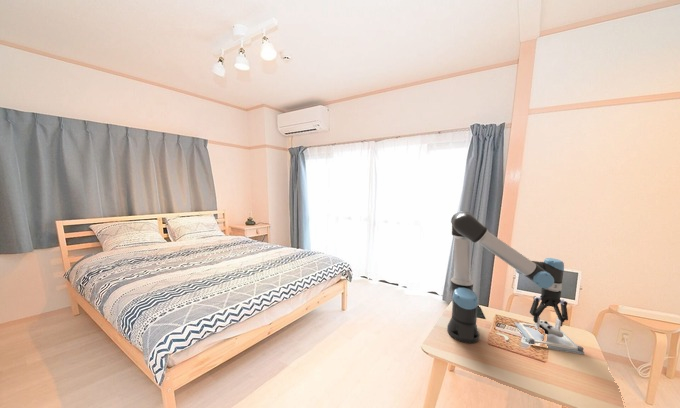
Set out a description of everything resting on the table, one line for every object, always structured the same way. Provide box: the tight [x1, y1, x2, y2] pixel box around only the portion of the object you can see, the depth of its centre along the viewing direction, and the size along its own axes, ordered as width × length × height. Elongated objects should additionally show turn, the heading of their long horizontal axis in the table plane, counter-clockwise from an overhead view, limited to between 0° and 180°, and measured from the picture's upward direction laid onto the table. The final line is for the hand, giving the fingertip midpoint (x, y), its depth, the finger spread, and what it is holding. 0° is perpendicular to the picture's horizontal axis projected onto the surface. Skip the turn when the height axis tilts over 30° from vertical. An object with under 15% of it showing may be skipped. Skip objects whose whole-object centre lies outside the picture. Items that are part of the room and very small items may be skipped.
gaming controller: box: [539, 320, 564, 337], centre depth 122 cm, size 11×6×7 cm
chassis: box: [514, 322, 585, 355], centre depth 123 cm, size 22×18×3 cm
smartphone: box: [477, 304, 486, 320], centre depth 148 cm, size 7×1×15 cm
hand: (546, 329), depth 123 cm, fingers closed on gaming controller, 8 cm apart
